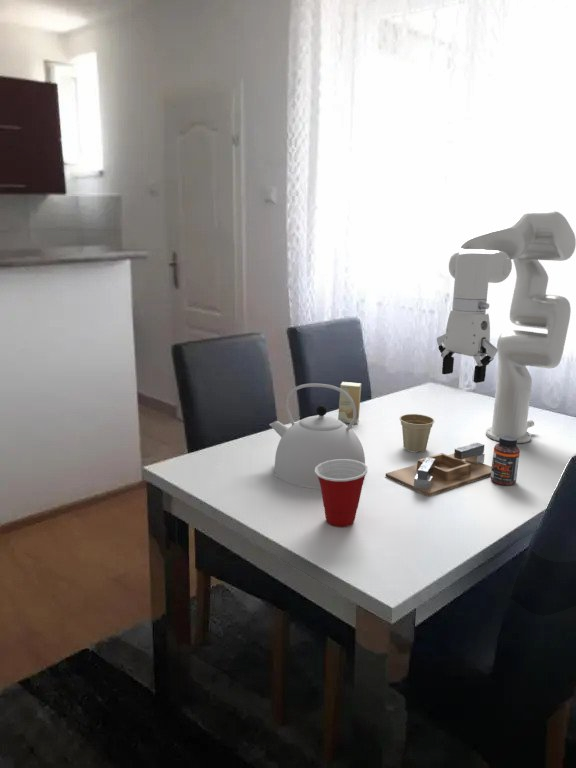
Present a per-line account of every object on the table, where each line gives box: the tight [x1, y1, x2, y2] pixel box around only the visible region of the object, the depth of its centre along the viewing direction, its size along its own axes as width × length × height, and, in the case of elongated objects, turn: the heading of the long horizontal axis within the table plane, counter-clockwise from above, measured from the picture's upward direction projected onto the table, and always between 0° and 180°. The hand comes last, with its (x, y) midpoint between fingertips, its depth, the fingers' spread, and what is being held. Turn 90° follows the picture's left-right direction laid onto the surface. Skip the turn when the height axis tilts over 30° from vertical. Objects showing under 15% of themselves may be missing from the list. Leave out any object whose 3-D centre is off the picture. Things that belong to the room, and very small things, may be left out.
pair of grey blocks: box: [414, 442, 485, 491], centre depth 153 cm, size 28×8×5 cm, turn 126°
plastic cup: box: [315, 459, 369, 528], centre depth 128 cm, size 11×11×12 cm
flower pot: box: [399, 413, 435, 453], centre depth 172 cm, size 9×9×9 cm
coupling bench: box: [385, 452, 492, 497], centre depth 155 cm, size 26×14×3 cm, turn 126°
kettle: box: [269, 382, 366, 490], centre depth 154 cm, size 25×23×22 cm
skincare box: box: [337, 381, 362, 425], centre depth 195 cm, size 6×4×12 cm
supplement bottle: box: [490, 435, 521, 486], centre depth 150 cm, size 6×6×11 cm
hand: (462, 377), depth 149 cm, fingers open, 9 cm apart
